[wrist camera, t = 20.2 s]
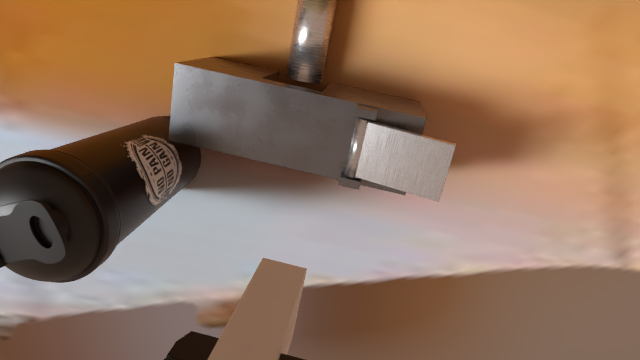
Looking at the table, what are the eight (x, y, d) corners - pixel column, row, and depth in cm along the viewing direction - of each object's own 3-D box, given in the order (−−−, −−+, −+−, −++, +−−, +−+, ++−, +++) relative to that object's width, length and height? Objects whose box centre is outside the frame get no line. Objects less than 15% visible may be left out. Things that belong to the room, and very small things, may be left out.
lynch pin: (291, -38, 44) (277, -48, 38) (360, -25, 43) (356, -32, 38) (274, 70, 47) (259, 76, 42) (338, 84, 47) (332, 92, 41)
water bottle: (220, 183, 52) (103, 292, 31) (144, 203, 55) (-16, 318, 33) (188, 97, 50) (34, 151, 28) (109, 122, 52) (-90, 190, 30)
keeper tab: (342, 175, 39) (438, 203, 37) (355, 118, 37) (456, 145, 35) (346, 171, 40) (439, 199, 38) (359, 116, 38) (457, 142, 36)
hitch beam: (205, 121, 50) (160, 144, 40) (212, 56, 48) (166, 64, 38) (402, 166, 49) (405, 201, 39) (419, 101, 46) (428, 122, 36)
